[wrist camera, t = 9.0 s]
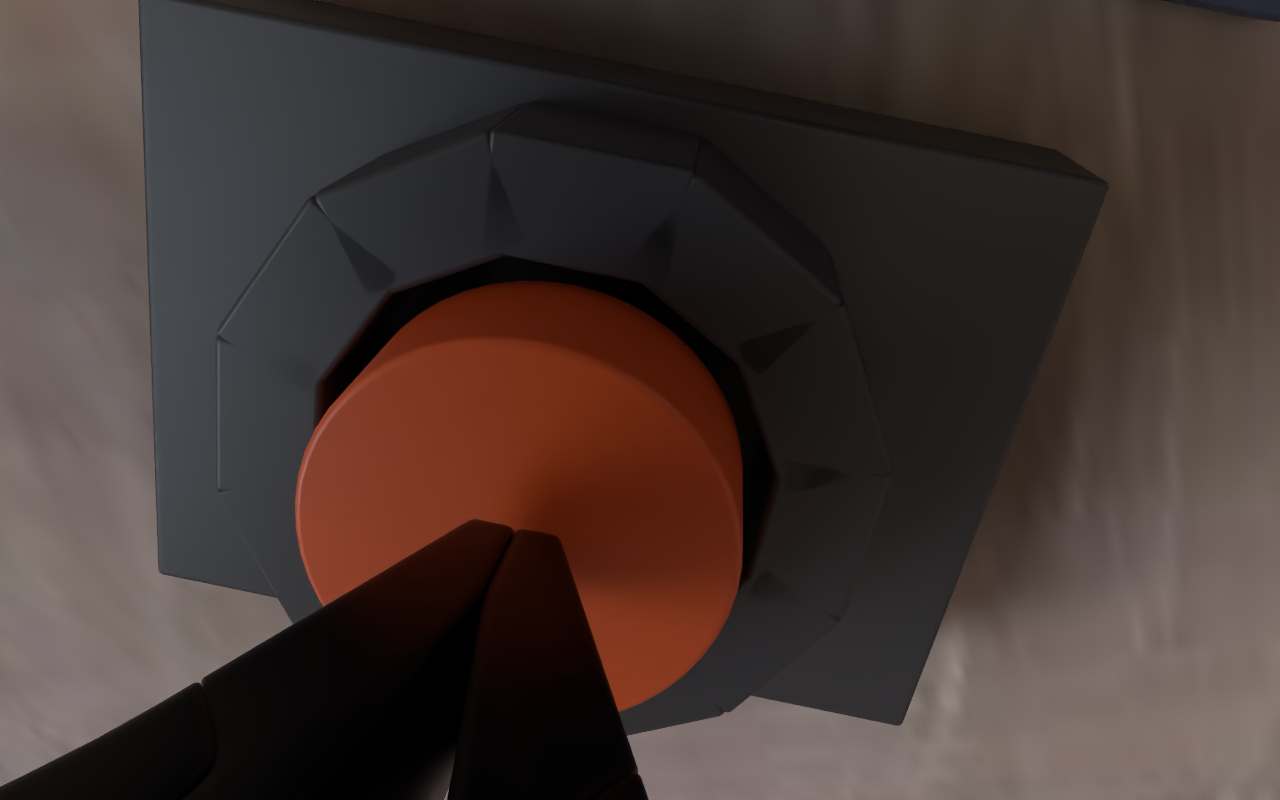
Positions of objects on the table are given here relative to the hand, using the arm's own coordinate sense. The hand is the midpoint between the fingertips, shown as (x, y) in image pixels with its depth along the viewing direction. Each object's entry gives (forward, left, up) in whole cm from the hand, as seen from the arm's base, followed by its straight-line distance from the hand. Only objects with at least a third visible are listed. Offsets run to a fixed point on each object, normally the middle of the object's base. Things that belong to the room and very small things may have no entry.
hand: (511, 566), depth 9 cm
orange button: (0, 0, -2) cm, 2 cm away
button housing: (0, 0, -6) cm, 6 cm away
